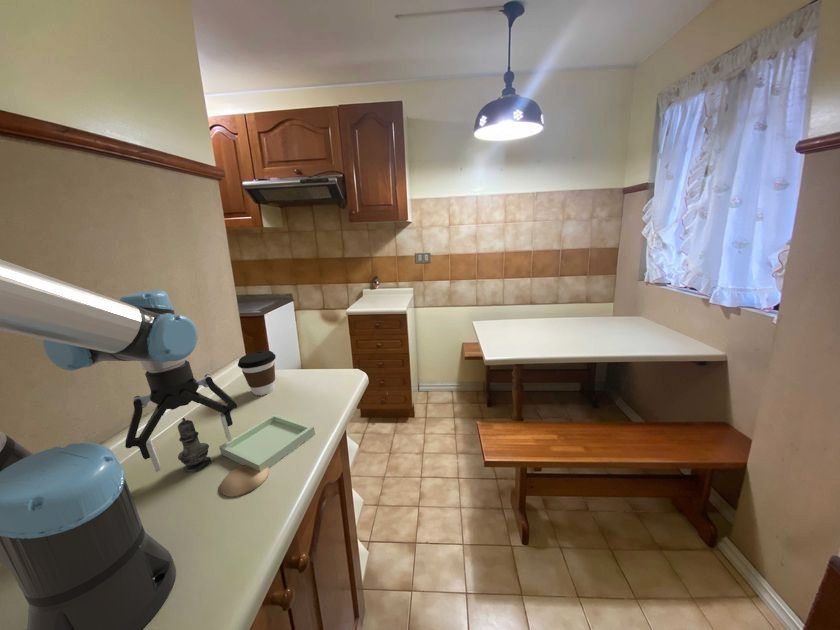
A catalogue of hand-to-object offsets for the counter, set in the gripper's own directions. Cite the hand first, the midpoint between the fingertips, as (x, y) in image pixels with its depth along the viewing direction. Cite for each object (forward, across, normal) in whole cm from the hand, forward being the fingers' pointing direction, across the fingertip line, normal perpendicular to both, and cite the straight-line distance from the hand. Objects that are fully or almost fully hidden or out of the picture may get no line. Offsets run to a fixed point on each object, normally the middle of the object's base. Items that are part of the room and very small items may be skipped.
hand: (195, 452), depth 76 cm
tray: (+3, +14, -4) cm, 15 cm away
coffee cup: (+4, +21, +27) cm, 34 cm away
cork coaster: (+3, +7, -14) cm, 15 cm away
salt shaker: (+3, 0, 0) cm, 3 cm away
